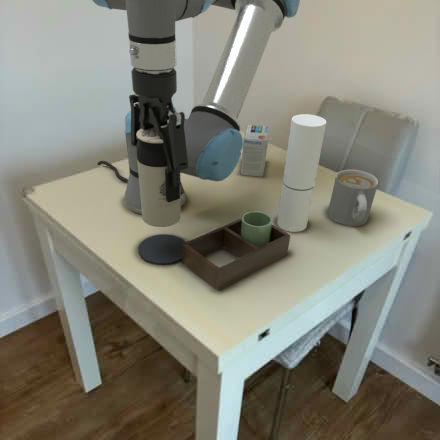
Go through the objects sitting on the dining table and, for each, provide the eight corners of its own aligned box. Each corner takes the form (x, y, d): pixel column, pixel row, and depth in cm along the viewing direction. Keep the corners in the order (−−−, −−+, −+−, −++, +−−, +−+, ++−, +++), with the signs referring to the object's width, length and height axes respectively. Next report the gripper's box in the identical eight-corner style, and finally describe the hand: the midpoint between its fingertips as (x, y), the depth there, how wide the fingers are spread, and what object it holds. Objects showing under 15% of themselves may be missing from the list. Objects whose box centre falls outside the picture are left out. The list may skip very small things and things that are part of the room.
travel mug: (138, 212, 96) (130, 127, 84) (174, 206, 98) (171, 123, 87) (148, 231, 90) (141, 143, 79) (185, 224, 93) (184, 138, 81)
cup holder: (182, 263, 96) (181, 243, 93) (251, 231, 107) (253, 213, 104) (217, 291, 90) (218, 271, 87) (287, 254, 100) (290, 235, 97)
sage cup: (233, 248, 101) (235, 217, 96) (254, 238, 105) (257, 208, 99) (253, 262, 98) (256, 230, 92) (274, 251, 101) (278, 220, 96)
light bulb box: (243, 159, 137) (246, 123, 130) (266, 161, 137) (269, 125, 130) (240, 175, 129) (242, 137, 122) (263, 177, 129) (267, 140, 122)
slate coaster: (128, 247, 100) (128, 245, 100) (169, 231, 106) (169, 228, 105) (157, 271, 94) (157, 269, 93) (198, 252, 100) (198, 250, 99)
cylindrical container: (309, 219, 112) (328, 117, 96) (303, 234, 107) (323, 128, 91) (281, 214, 114) (295, 112, 97) (274, 228, 108) (288, 123, 92)
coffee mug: (327, 203, 118) (334, 167, 112) (365, 207, 118) (375, 171, 111) (328, 230, 108) (337, 193, 102) (371, 235, 107) (382, 197, 101)
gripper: (102, 57, 80) (116, 177, 94) (172, 87, 68) (176, 219, 83) (138, 51, 83) (146, 168, 98) (210, 79, 72) (208, 206, 87)
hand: (160, 191), depth 90 cm, fingers closed on travel mug, 8 cm apart
